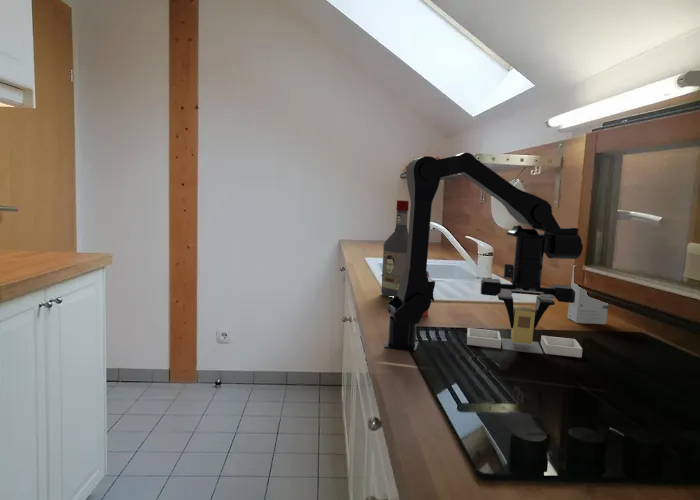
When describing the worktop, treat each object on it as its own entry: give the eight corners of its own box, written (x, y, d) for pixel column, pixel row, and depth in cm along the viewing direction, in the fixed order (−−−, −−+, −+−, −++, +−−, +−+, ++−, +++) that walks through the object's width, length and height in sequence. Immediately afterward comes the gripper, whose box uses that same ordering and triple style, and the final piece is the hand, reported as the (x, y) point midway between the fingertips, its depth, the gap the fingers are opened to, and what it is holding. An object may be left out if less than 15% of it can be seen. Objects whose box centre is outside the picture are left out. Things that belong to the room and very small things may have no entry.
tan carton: (532, 344, 103) (535, 312, 102) (512, 342, 104) (515, 310, 103) (529, 338, 107) (532, 307, 106) (510, 336, 108) (513, 306, 107)
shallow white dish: (500, 350, 103) (501, 340, 103) (466, 346, 105) (467, 336, 104) (498, 340, 110) (499, 331, 110) (466, 337, 112) (467, 327, 111)
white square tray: (581, 359, 99) (582, 348, 99) (545, 355, 101) (546, 344, 101) (574, 348, 106) (575, 339, 106) (540, 345, 108) (541, 335, 108)
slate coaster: (543, 355, 101) (543, 353, 101) (503, 351, 103) (503, 348, 102) (537, 344, 108) (537, 342, 108) (500, 340, 110) (500, 338, 110)
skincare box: (576, 323, 128) (581, 268, 126) (566, 317, 134) (571, 264, 132) (607, 325, 128) (614, 269, 126) (596, 319, 134) (602, 266, 132)
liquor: (395, 291, 159) (400, 200, 155) (417, 296, 153) (423, 201, 149) (377, 295, 152) (381, 199, 149) (400, 300, 146) (405, 201, 143)
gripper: (568, 256, 109) (561, 323, 111) (482, 250, 113) (477, 315, 115) (579, 263, 98) (571, 337, 100) (484, 256, 102) (478, 328, 104)
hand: (522, 328), depth 105 cm, fingers closed on tan carton, 4 cm apart
